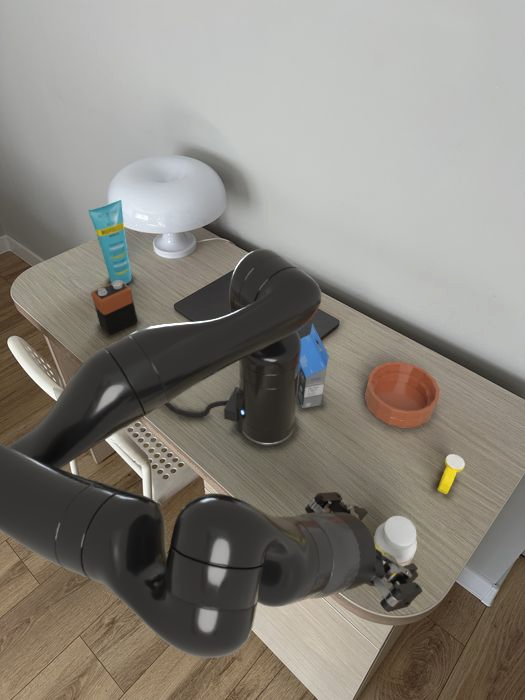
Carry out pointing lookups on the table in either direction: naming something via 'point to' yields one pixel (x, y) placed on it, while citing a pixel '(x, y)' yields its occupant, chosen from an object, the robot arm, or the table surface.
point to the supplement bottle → (397, 539)
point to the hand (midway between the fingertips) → (385, 542)
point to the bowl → (401, 394)
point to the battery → (114, 307)
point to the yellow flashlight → (450, 472)
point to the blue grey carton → (311, 370)
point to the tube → (112, 240)
